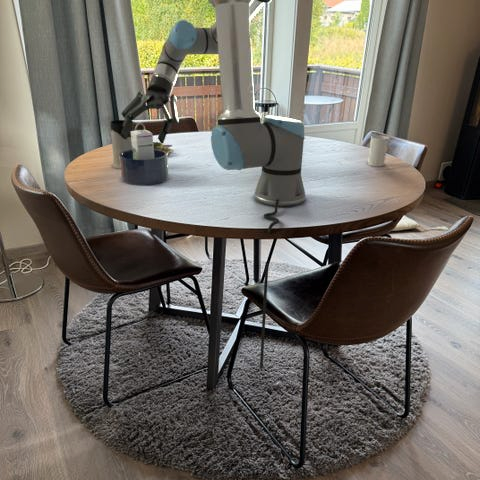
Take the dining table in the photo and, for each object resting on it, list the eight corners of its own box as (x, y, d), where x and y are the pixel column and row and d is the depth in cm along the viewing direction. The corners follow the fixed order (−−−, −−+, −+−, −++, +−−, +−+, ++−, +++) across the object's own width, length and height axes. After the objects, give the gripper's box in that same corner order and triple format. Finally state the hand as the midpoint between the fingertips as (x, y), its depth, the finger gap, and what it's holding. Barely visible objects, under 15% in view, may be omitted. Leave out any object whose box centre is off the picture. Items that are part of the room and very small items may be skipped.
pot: (166, 185, 160) (165, 160, 156) (118, 184, 159) (115, 159, 155) (170, 172, 173) (168, 148, 169) (125, 172, 172) (123, 148, 168)
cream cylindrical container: (386, 166, 186) (391, 139, 181) (369, 166, 186) (373, 138, 181) (382, 162, 192) (386, 135, 187) (365, 162, 192) (369, 135, 187)
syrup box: (156, 178, 165) (153, 132, 158) (139, 180, 163) (135, 133, 155) (150, 173, 169) (147, 129, 162) (133, 175, 167) (129, 130, 159)
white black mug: (108, 165, 179) (103, 121, 172) (140, 159, 188) (137, 117, 180) (122, 170, 174) (117, 125, 166) (154, 163, 183) (151, 120, 175)
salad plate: (162, 145, 208) (162, 134, 206) (184, 154, 196) (184, 142, 193) (120, 151, 198) (118, 139, 196) (139, 160, 186) (138, 148, 184)
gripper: (200, 93, 163) (180, 149, 159) (135, 88, 171) (114, 141, 167) (192, 77, 156) (171, 135, 152) (124, 72, 164) (103, 127, 160)
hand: (141, 138), depth 159 cm, fingers open, 13 cm apart
